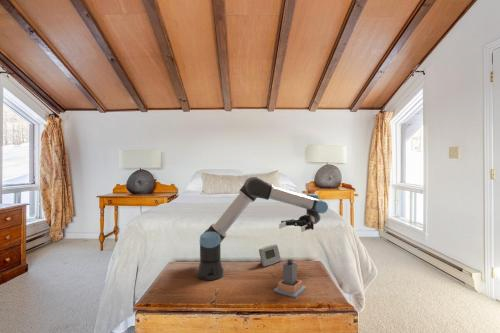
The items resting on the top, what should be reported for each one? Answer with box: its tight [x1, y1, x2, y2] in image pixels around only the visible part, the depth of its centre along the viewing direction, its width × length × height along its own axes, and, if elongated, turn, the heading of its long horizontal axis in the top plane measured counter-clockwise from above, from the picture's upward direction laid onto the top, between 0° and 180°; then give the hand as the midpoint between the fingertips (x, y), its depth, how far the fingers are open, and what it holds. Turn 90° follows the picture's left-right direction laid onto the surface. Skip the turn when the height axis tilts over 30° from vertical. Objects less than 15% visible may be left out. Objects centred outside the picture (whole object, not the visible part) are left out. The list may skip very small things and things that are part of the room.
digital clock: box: [258, 243, 282, 267], centre depth 175 cm, size 16×9×11 cm, turn 120°
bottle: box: [282, 258, 298, 286], centre depth 138 cm, size 5×5×14 cm
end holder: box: [273, 279, 307, 299], centre depth 138 cm, size 12×12×4 cm
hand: (290, 227), depth 152 cm, fingers open, 13 cm apart
